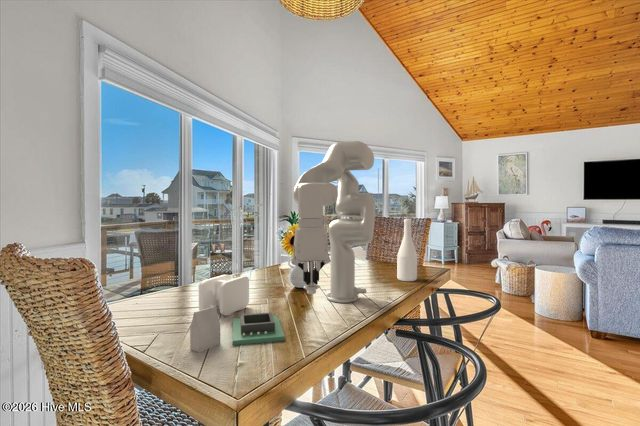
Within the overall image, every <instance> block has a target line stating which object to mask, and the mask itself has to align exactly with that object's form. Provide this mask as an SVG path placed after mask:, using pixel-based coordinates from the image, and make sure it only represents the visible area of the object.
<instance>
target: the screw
mask: <svg viewBox="0 0 640 426" xmlns="http://www.w3.org/2000/svg"><path fill="white" fill-rule="evenodd" d="M314 268H315V261H310V262H308V272H309V285H307V284H306V283H305V284H304V285H303V289H304V290H306V294H308V295H315V294H316V293H317V289H320V285H319V284H315V283H314Z"/></svg>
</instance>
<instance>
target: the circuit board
mask: <svg viewBox="0 0 640 426" xmlns="http://www.w3.org/2000/svg"><path fill="white" fill-rule="evenodd" d="M285 339H286V338H285V333H284V330H283V328H282V325H281V321H280V320H279V317H278V315H273V313H272V312H261V313H260V312H259V313H247V314H246V313H244V314H240V317H239V318H237V317H236V318H233V319H232V346H239V345H251V344H252V345H253V344H262V343H272V342H282V341H283V342H284V341H285Z"/></svg>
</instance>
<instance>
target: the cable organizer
mask: <svg viewBox="0 0 640 426" xmlns="http://www.w3.org/2000/svg"><path fill="white" fill-rule="evenodd" d="M249 303H250V278H249V276H246V275H242V276H238V277H235V278H232V277H231V275H230V274H221V275H218V276H214V277H210V278H207V279H204V280H202V281H200V283H199V284H198V311H200V310H204V309H207V308H211V307H214V306H216V309H219V313H220V314H221V315H223V316H226V317H228V316H231V315H233V314H234V313H235V312H237V311H242V310H244V309H245V308H246V307H248V305H249Z"/></svg>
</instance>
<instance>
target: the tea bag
mask: <svg viewBox="0 0 640 426" xmlns="http://www.w3.org/2000/svg"><path fill="white" fill-rule="evenodd" d="M217 309H218V308H217ZM217 309H216V306H214V307H211V308H207V309H204V310H200V311H199V310H198V311H195V312H193V315H192V320H191V323H190V326H189V333H190V334H189V341H190V343H189V344H190V345H189V347H190V350H192V351H193V352H196V353H202V352H204V351H207V350H209V349H211V348H214V347H216V346H218V345H221V320H220V317H219V313H218V310H217Z"/></svg>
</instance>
